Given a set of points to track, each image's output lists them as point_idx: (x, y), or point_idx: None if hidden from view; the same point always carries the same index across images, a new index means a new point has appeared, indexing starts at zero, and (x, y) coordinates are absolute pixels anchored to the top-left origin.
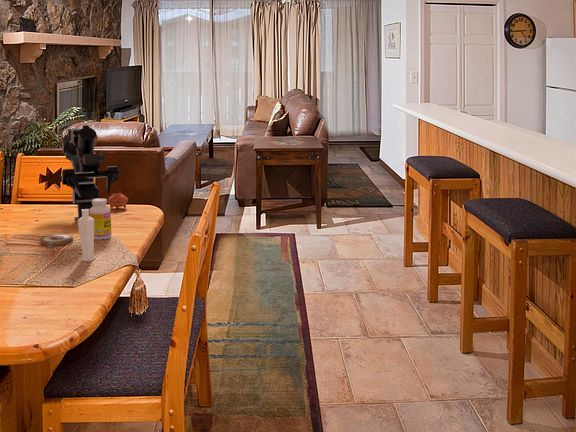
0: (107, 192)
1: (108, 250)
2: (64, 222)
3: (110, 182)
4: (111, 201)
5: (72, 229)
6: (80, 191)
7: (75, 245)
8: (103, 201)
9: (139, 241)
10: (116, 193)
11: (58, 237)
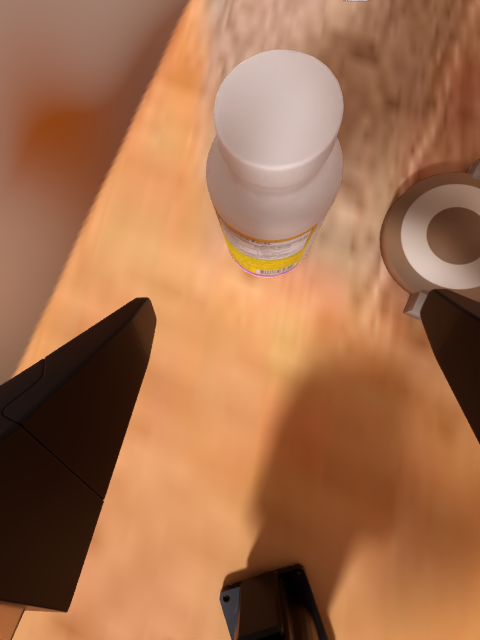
0: (148, 345)
1: None
2: (386, 598)
3: (20, 379)
4: None
5: (363, 431)
6: (469, 309)
7: (378, 166)
8: (251, 60)
9: (148, 137)
10: None
11: (449, 239)
